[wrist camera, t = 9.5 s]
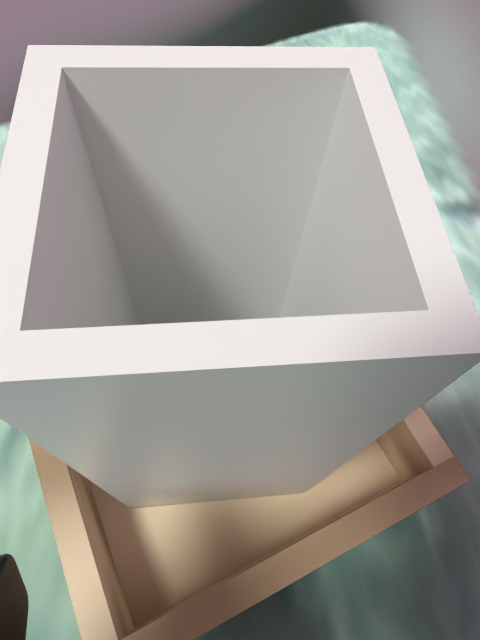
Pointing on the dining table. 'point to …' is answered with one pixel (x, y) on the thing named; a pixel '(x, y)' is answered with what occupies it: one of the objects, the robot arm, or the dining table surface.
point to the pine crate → (229, 536)
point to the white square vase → (218, 268)
